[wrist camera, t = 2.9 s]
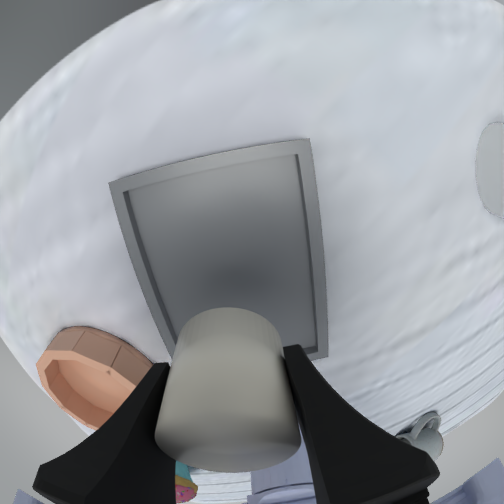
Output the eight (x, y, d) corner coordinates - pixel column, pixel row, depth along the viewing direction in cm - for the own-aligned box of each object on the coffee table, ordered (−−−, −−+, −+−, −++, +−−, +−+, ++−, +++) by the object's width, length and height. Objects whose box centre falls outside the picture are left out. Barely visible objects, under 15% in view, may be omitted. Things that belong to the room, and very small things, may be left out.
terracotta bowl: (186, 415, 24) (182, 442, 21) (91, 411, 25) (83, 432, 21) (133, 320, 20) (119, 349, 16) (33, 328, 20) (16, 349, 17)
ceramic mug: (413, 442, 33) (427, 472, 26) (378, 451, 32) (392, 485, 25) (446, 405, 29) (466, 437, 22) (412, 414, 28) (432, 452, 21)
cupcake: (208, 472, 31) (206, 536, 20) (160, 471, 31) (153, 530, 20) (183, 450, 28) (175, 526, 16) (131, 449, 28) (117, 516, 17)
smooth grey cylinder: (286, 375, 12) (304, 463, 8) (195, 387, 12) (185, 473, 8) (274, 298, 11) (297, 399, 6) (163, 315, 11) (128, 412, 6)
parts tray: (323, 345, 21) (328, 356, 20) (184, 367, 22) (181, 379, 20) (303, 139, 15) (309, 138, 14) (117, 179, 16) (108, 182, 14)
